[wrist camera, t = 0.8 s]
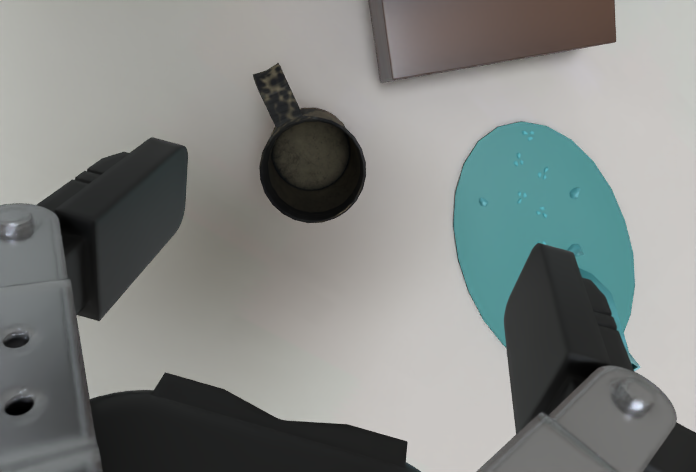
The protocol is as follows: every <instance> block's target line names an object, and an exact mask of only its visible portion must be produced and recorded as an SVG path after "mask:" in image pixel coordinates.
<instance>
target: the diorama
mask: <svg viewBox="0 0 696 472" xmlns="http://www.w3.org/2000/svg"><path fill="white" fill-rule="evenodd" d="M454 232H455V239H456V246H457V253H458V260H459V263H460V266H461V269H462V272H463V275H464V278H465V281H466V284H467V287H468V290H469V293H470V295H471V297H472V299H473V300H474V302H475V304H476V306H477V308H478V310H479V312H480V314H481V316H482V318H483V320H484V321H485V322H486V324H487V325H488V326H489V327H490V329H491V330H492V331H493V332H494V334H495V335H496V336H497V338H498V339H499V340H500V341H501V343H502V344H503V345H504V346H505V347H506V339H505V330H504V314H505V309H506V305H507V302H508V299H509V296H510V294H511V292H512V290H513V288H514V286H515V284H516V282H517V280H518V277H519V275H520V273H521V271H522V269H523V267H524V265H525V263H526V261H527V259H528V257H529V254H530V252H531V250H532V249H533V247H534V246H535V245H536V244H537V243H541V244H545V245H549V246H553V247H556V248H560V249H564V250H567V251H571V252H573V253H574V255H575V258H576V261H577V264H578V267H579V270H580V273H581V276H582V278H586V279H590V280H591V281H592V282H593V283H594V284H595V285H596V286H597V288H598V289H599V290H600V291H601V292H602V293H603V294H604V295H605V297H606V299H607V302H608V304H609V307H610V309H611V312H612V315H611V316H612V317H614V320H615V323H616V325H617V331H619V333H620V336H621V338H622V341H623V343H624V346H625V349H626V351H627V354H628V357H629V359H630V362H631V364H632V367H633V370H634V371H635V370H637V369H639V368H640V366H639V365H638V363H637V362H636V361H635V359H634V358H633V357H632V356H631V354H630V353H629V351H628V347H627V344H626V340H625V336H624V330H625V328H626V325H627V323H628V320H629V317H630V315H631V308H632V301H633V295H634V288H635V279H634V259H633V251H632V247H631V243H630V239H629V235H628V231H627V227H626V223H625V220H624V218H623V215H622V213H621V210H620V208H619V206H618V203H617V201H616V198H615V196H614V194H613V191H612V189H611V187H610V186H609V184H608V183H607V181H606V180H605V178H604V177H603V175H602V174H601V172H600V171H599V169H598V168H597V166H596V165H595V163H594V162H593V161H592V160H591V159H590V158H589V157H588V156H587V155H586V154H585V153H584V152H583V151H582V150H581V149H580V148H579V147H578V146H577V145H576V144H575V143H574V142H573V141H572V140H571V139H569V138H567V137H565V136H563V135H562V134H560V133H558V132H556V131H555V130H553V129H551V128H549V127H547V126H544V125H538V124H533V123H527V122H517V123H513V124H508V125H504V126H500V127H497V128H496V129H494V130H493V131H492V132H490V133H489V134H488V135H486V136H485V137H484V138H482V139H481V140H480V141H478V143H477V144H476V146H475V147H474V149H473V150H472V152H471V154H470V155H469V157H468V158H467V160H466V161H465V163H464V165H463V169H462V172H461V175H460V179H459V182H458V186H457V189H456V193H455V209H454Z"/></svg>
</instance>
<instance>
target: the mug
mask: <svg viewBox="0 0 696 472" xmlns="http://www.w3.org/2000/svg"><path fill="white" fill-rule="evenodd" d="M253 77H254V80H255V83H256V86H257V88H258V90H259V93H260V95H261V97H262V99H263V101H264V103H265V105H266V107H267V110H268V112H269V114H270V116H271V118H272V120H273V122H274V124H275V128H274V130H273V132H272V134H271V137H270V138H269V140H268V142H267V144H266V146H265V148H264V150H263V152H262V157H261V161H260V180H261V183H262V186H263V189H264V192H265V194H266V196H267V197H268V199H269V200H270V202H271V203H272V205H273V206H275V207H276V208H277V209H278V210H279V211H280V212H281V213H283V214H284V215H286V216H288V217H290V218H292V219H294V220H297V221H302V222H306V223H319V222H325V221H328V220H332V219H335V218H337V217H338V216H340V215H341V214H343V213H345V212H346V211H347V210H348V209H349V208H350V207H351V206H352V205H353V204H354V203H355V202H356V201H357V199H358V197H359V195H360V193H361V191H362V190H363V186H364V182H365V178H366V162H365V159H364V155H363V152H362V149H361V147H360V145H359V144H358V142H357V140H356V139H355V137H354V136H353V135H352V134H351V133H350V132H349V131H348V130H347V129H346V128H345V126H344V125H343V123H342V122H341V121H340V120H339V119H338V118H337V117H336V116H334V115H333V114H331V113H329V112H327V111H325V110H322V109H317V108H302V109H299V106H298V104H297V102H296V100H295V98H294V96H293V93H292V91H291V89H290V87H289V85H288V82H287V80H286V78H285V76H284V74H283V71H282V69H281V66H280V65H279V63H277V64H276V65H274V66H273V67H271V68H270V69H268V70H267V71H264V72H260V73H257V74H254V75H253Z"/></svg>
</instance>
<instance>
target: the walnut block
mask: <svg viewBox="0 0 696 472" xmlns="http://www.w3.org/2000/svg"><path fill="white" fill-rule="evenodd" d="M369 6H370V12H371V19H372V26H373V33H374V40H375V47H376V54H377V61H378V68H379V75H380V81H381V83H383V82H389V81H395V80H401V79H407V78H413V77H418V76H424V75H430V74H436V73H442V72H448V71H454V70H459V69H465V68H471V67H477V66H483V65H489V64H495V63H500V62H506V61H512V60H518V59H524V58H530V57H535V56H541V55H547V54H553V53H559V52H565V51H571V50H576V49H582V48H587V47H592V46H598V45H603V44H608V43H614V42H616V27H615V2H614V0H369Z"/></svg>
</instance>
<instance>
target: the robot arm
mask: <svg viewBox="0 0 696 472" xmlns="http://www.w3.org/2000/svg"><path fill="white" fill-rule="evenodd" d="M187 165H188V152H187V149H186V147H185V146H183V145H179V144H175V143H172V142H168V141H164V140H160V139H157V138H149V139H148V140H147V141H145V142H144V143H143V144H141V145H140V146H139V147H137V148H136V149H135V150H133V151H132V152H131V153H126V152H122V153H118V154H115V155H112V156H108V157H105V158H102V159H101V160H99V161H98V162H96V163H95V164H94V165H92V166H91V167H89V168H88V169H87V171H84V172H82V173H81V174H80V175H78V176H77V177H75V180H71V181H70V182H68V183H67V184H65V185H64V186H63V187H61V188H60V189H58V190H57V191H56V192H54V193H53V194H51V195H50V196H49V197H47V198H46V199H44V200H43V201H41V202H40V203H39V204H37V205H33V204H22V203H16V204H4V205H0V472H421V471H419V470H418V469H416V468H415V467H413V466H412V465H410V464H408V463H406V452H407V441H404V440H400V439H397V438H393V437H390V436H386V435H383V434H379V433H376V432H372V431H369V430H365V429H362V428H358V427H354V426H351V425H347V424H332V423H315V422H299V421H285V420H281V419H278V418H276V417H274V416H272V415H270V414H268V413H266V412H265V411H263V410H261V409H259V408H257V407H255V406H254V405H252V404H250V403H248V402H246V401H244V400H243V399H241V398H239V397H237V396H235V395H234V394H232V393H230V392H228V391H226V390H224V389H221V388H218V387H214V386H211V385H207V384H204V383H200V382H197V381H193V380H190V379H186V378H183V377H179V376H176V375H172V374H169V373H165V374H164V375H163V377H162V378H161V380H160V381H159V383H158V385H157V386H156V388H155V389H154V390H137V391H125V392H117V393H112V394H108V395H103V396H99V397H96V398H93V399H89V393H88V386H87V380H86V374H85V368H84V361H83V355H82V349H81V343H80V336H79V330H78V324H77V317H76V315H80V316H83V317H87V318H90V319H94V320H97V321H100V320H101V319H102V317H103V316H104V315H105V314H106V313H107V312H108V310H109V309H110V308H111V307H112V306H113V305H114V303H115V302H116V301H117V300H118V299H119V298H120V297H121V295H122V294H123V293H124V292H125V291H126V290H127V288H128V287H129V286H130V285H131V284H132V283H133V281H134V280H135V279H136V278H137V277H138V276H139V275H140V273H141V272H142V271H143V270H144V269H145V268H146V266H147V265H148V264H149V263H150V262H151V261H152V259H153V258H154V257H155V256H156V255H157V254H158V253H159V251H160V250H161V249H162V248H163V247H164V246H165V244H166V243H167V242H168V241H169V240H170V239H171V237H172V236H173V235H174V234H175V233H176V231H177V230H178V228H179V226H180V224H181V222H182V219H183V216H184V211H185V201H186V183H187ZM611 315H612V312H611V309H610V307H609V304H608V302H607V299H606V297H605V295H604V294H603V293H602V292H601V291H600V290H599V289H598V288H597V286H596V285H595V284H594V283H593V282H592V281H591V280H590V279H586V278H582V276H581V273H580V270H579V267H578V264H577V261H576V258H575V255H574V253H573V252H571V251H567V250H564V249H560V248H556V247H553V246H549V245H545V244H541V243H537V244H536V245H535V246H534V247H533V249H532V250H531V252H530V254H529V257H528V259H527V261H526V263H525V265H524V267H523V269H522V271H521V273H520V275H519V277H518V280H517V282H516V284H515V286H514V288H513V290H512V292H511V294H510V296H509V299H508V302H507V305H506V309H505V314H504V330H505V339H506V348H507V357H508V366H509V374H510V383H511V392H512V401H513V410H514V419H515V428H516V435H515V436H514V437H513V438H512V439H511V440H510V441H509V442H508V443H507V444H506V445H505V446H504V447H502V448H501V449H500V450H499V451H498V452H497V453H496V454H495V455H494V456H493V457H492V458H491V459H490V460H489V461H487V462H486V463H485V464H484V465H483V466H482V467H481V468H480V469H479V470H478V471H477V472H696V433H695V432H693V431H691V430H689V429H687V428H686V427H684V426H682V425H680V424H678V423H677V422H676V420H677V417H676V412H675V409H674V407H673V405H672V403H671V402H670V400H669V399H668V397H667V396H666V395H665V394H664V393H663V392H662V391H661V390H660V389H659V388H658V387H657V386H656V385H655V384H653V383H652V382H651V381H649V380H648V379H646V378H645V377H643V376H642V375H640V374H638V373H636V372H634V370H633V367H632V364H631V362H630V359H629V357H628V354H627V351H626V349H625V346H624V343H623V341H622V338H621V336H620V333H619V331H617V325H616V323H615V320H614V317H612V316H611Z"/></svg>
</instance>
